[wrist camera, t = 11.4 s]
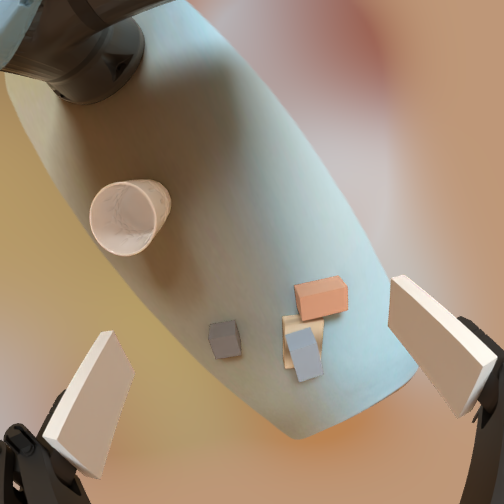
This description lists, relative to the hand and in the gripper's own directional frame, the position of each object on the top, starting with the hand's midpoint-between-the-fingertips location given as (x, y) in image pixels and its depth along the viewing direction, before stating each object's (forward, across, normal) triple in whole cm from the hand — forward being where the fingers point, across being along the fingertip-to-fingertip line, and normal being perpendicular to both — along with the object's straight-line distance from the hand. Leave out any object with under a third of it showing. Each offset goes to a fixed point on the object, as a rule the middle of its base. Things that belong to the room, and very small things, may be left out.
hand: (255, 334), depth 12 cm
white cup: (+27, -12, +4) cm, 30 cm away
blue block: (+24, +5, -22) cm, 33 cm away
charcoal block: (+27, -6, -18) cm, 33 cm away
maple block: (+27, +6, -22) cm, 35 cm away
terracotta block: (+27, +9, -14) cm, 32 cm away
